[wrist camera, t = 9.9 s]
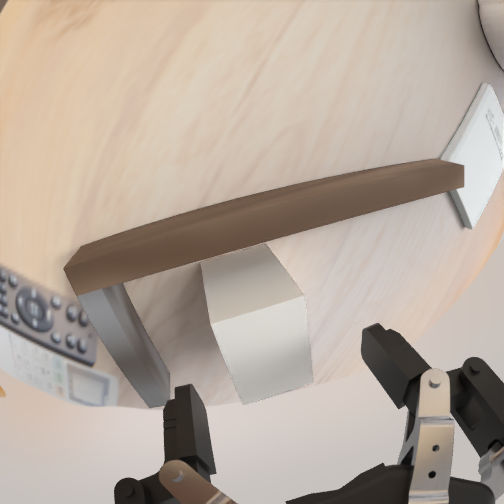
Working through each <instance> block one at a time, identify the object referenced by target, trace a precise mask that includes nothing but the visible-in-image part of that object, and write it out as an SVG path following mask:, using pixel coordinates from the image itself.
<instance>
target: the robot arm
mask: <svg viewBox="0 0 504 504" xmlns="http://www.w3.org/2000/svg"><path fill="white" fill-rule="evenodd" d="M478 3H479V7H480V8H479V14H480V20H481V24H482V27H483V30H484V33H485V36H486V39H487V41H488V44H489V46H490V48H491V50H492V52H493V54H494V56H495V58H496V60H497V62H498V63H499V65H500V66H501V68H502V69H503V70H504V0H478ZM361 354H362V358H363V360H364V362H365V363H366V365H367V366H368V367H369V369H370V370H371V371H372V373H373V374H374V376H375V377H376V378H377V380H378V381H379V383H380V384H381V385H382V387H383V388H384V390H385V391H386V392H387V394H388V395H389V397H390V398H391V399H392V400H393V402H394V404H395V405H396V406H397V408H398V409H400V408H402V407H403V406H405V405H406V406H407V408H408V413H407V421H406V428H405V435H404V441H403V446H402V449H401V452H400V455H399V458H398V463H397V465H389V466H385V465H384V463H382V464H380V465H378V466H376V467H374V468H372V469H370V470H367V471H365V472H363V473H361V474H360V475H358V476H357V477H356V478H354V479H353V480H352V481H350V482H349V483H347V484H346V485H345V486H343V487H342V488H340V489H338V490H333V491H327V492H320V493H313V494H308V495H305V496H302V497H299V498H296V499H292V500H289V501H286V504H495V500H496V499H497V498H499V497H500V496H501V495H502V494H503V493H504V383H503V382H502V381H501V380H500V378H499V377H498V376H497V375H496V374H495V373H494V372H493V370H492V369H491V368H490V367H489V366H488V365H487V364H486V363H485V361H483V360H482V359H480V358H478V357H471V358H468V359H467V360H466V361H465V362H464V364H463V366H462V367H461V368H458V369H455V370H451V371H447V372H444V371H443V370H440V369H432V368H431V367H430V366H429V365H428V364H427V363H426V362H425V360H424V359H423V358H422V357H421V356H420V355H419V354H418V353H417V352H416V351H415V349H414V348H413V347H411V345H410V344H409V343H408V342H406V340H405V339H404V338H403V337H402V336H401V334H400V333H398V332H396V331H394V330H392V329H389V330H387V331H386V330H385V329H384V328H383V327H382V326H381V325H380V324H379V323H376V324H374V325H371V326H369V327H367V328H364V329H363V331H362V344H361ZM450 413H451V414H452V416H453V417H454V418H455V420H456V421H457V423H458V424H459V426H460V427H461V428H462V430H463V431H464V433H465V434H466V436H467V438H468V439H469V441H470V442H471V444H472V445H473V447H474V448H475V450H476V451H477V453H478V455H479V456H480V458H481V459H480V462H479V470H478V472H479V474H480V475H481V482H475V481H470V480H465V479H460V478H455V477H451V476H450V474H451V466H452V456H453V444H454V420H453V419H451V418H450ZM163 418H164V419H163V420H164V424H163V425H164V452H165V461H164V464H163V466H162V467H161V468H160V470H159V471H158V472H157V473H156V474H154V475H152V476H149V477H147V478H144V479H141V480H139V481H138V480H136V479H133V478H124V479H121V480H120V481H119V482H118V483H117V484H116V486H115V489H114V498H115V504H237V503H236V502H235V501H233V500H232V499H230V498H229V497H228V496H226V495H225V494H224V493H222V492H221V491H219V490H218V489H217V488H216V487H214V486H213V485H212V484H211V480H210V475H212V474H216V468H215V463H214V458H213V452H212V446H211V440H210V433H209V427H208V420H207V413H206V409H205V406H204V404H203V402H202V400H201V398H200V397H199V395H198V393H197V392H196V390H195V388H194V386H193V385H192V384H188V385H183V386H178V387H175V399H172V400H167V403H166V405H165V407H164V410H163Z"/></svg>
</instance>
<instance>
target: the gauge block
mask: <svg viewBox="0 0 504 504" xmlns="http://www.w3.org/2000/svg"><path fill="white" fill-rule="evenodd" d="M200 263H201V270H202V277H203V283H204V289H205V295H206V302H207V307H208V313H209V319H210V324H211V327H212V330H213V332H214V335H215V338H216V340H217V343H218V345H219V348H220V351H221V353H222V356H223V358H224V361H225V363H226V366H227V368H228V371H229V373H230V376H231V378H232V380H233V383H234V385H235V388H236V390H237V392H238V395H239V397H240V399H241V402H242V404H243V405H245V404H249V403H253V402H256V401H259V400H263V399H266V398H269V397H272V396H276V395H279V394H282V393H285V392H288V391H291V390H293V389H296V388H299V387H302V386H305V385H307V384H310V383H313V371H312V359H311V348H310V337H309V327H308V318H307V309H306V300H305V295H304V293H303V292H302V291H301V289H300V288H299V287H298V285H297V284H296V283H295V281H294V280H293V279H292V277H291V276H290V275H289V273H288V272H287V271H286V269H285V268H284V267H283V265H282V264H281V263H280V261H279V260H278V259H277V257H276V256H275V255H274V253H273V252H272V251H271V250H270V248H269V247H268V246H267V244H263V245H260V246H256V247H253V248H249V249H246V250H242V251H238V252H235V253H231V254H228V255H224V256H221V257H217V258H214V259H210V260H207V261H203V262H200Z"/></svg>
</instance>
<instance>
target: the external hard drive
mask: <svg viewBox="0 0 504 504" xmlns="http://www.w3.org/2000/svg"><path fill="white" fill-rule="evenodd" d="M440 160H444V161H449V162H453V163H457V164H461V165H464V187H463V188H459V189H455V190H452V191H449V192H450V194H451V196H452V199H453V201H454V203H455V205H456V207H457V209H458V212H459V214H460V216H461V219H462V221H463V223H464V226H465V227H466V228H469V229H471V230H473V228H474V226H475V225H476V223H477V221H478V219H479V218H480V216H481V214H482V212H483V210H484V208H485V206H486V205H487V203H488V201H489V199H490V197H491V195H492V193H493V191H494V188H495V186H496V184H497V182H498V180H499V178H500V176H501V173H502V171H503V169H504V114H503V112H502V109H501V106H500V104H499V101H498V99H497V97H496V94H495V92H494V90H493V88H492V86H491V85H490V84H489V83H482V85H481V87H480V89H479V91H478V93H477V95H476V97H475V99H474V101H473V103H472V104H471V106H470V108H469V110H468V112H467V114H466V115H465V117H464V119H463V121H462V123H461V124H460V126H459V128H458V130H457V131H456V133H455V135H454V136H453V138H452V140H451V141H450V143H449V145H448V146H447V148H446V150H445V151H444V153H443V154H442V156H441V157H440Z"/></svg>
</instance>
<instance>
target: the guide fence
mask: <svg viewBox="0 0 504 504" xmlns="http://www.w3.org/2000/svg"><path fill="white" fill-rule="evenodd" d="M463 187H464V165H461V164H457V163H453V162H449V161H444V160H440V159H429V160H422V161H416V162H409V163H403V164H397V165H391V166H385V167H379V168H374V169H368V170H363V171H358V172H352V173H347V174H342V175H337V176H332V177H328V178H323V179H318V180H313V181H309V182H304V183H300V184H295V185H291V186H287V187H282V188H278V189H274V190H270V191H266V192H262V193H257V194H253V195H249V196H246V197H242V198H238V199H234V200H230V201H226V202H223V203H219V204H215V205H211V206H208V207H204V208H201V209H197V210H194V211H190V212H187V213H183V214H180V215H176V216H173V217H170V218H166V219H163V220H160V221H156V222H153V223H150V224H147V225H143V226H140V227H137V228H134V229H131V230H128V231H125V232H122V233H119V234H116V235H113V236H110V237H107V238H104V239H101V240H98V241H95V242H92V243H89V244H86V245H84V246H81V247H80V249H79V250H78V251H77V252H76V253H75V255H74V256H73V257H72V258H71V260H70V261H69V262H68V263H67V265H66V266H65V267H64V268H63V269H64V271H65V273H66V276H67V278H68V280H69V282H70V284H71V286H72V288H73V290H74V292H75V294H76V296H77V298H78V300H79V302H80V303H81V305H82V307H83V309H84V311H85V313H86V315H87V316H88V318H89V320H90V322H91V323H92V325H93V327H94V328H95V330H96V332H97V334H98V335H99V337H100V338H101V340H102V342H103V343H104V345H105V346H106V348H107V350H108V351H109V353H110V354H111V356H112V357H113V359H114V360H115V362H116V363H117V365H118V366H119V368H120V369H121V371H122V372H123V373H124V375H125V376H126V378H127V379H128V380H129V382H130V383H131V385H132V386H133V387H134V389H135V390H136V391H137V393H138V394H139V395H140V396H141V398H142V399H143V400H144V402H145V403H146V404H147V405H148V407H149V408H153V407H159V406H165V405H166V403H167V400H171V399H170V373H169V372H168V370H167V368H166V366H165V365H164V363H163V361H162V360H161V358H160V356H159V354H158V353H157V351H156V349H155V347H154V345H153V344H152V342H151V340H150V338H149V336H148V334H147V332H146V330H145V329H144V327H143V325H142V323H141V321H140V319H139V317H138V315H137V313H136V311H135V309H134V307H133V305H132V303H131V300H130V298H129V296H128V294H127V292H126V290H125V287H124V285H123V282H127V281H130V280H134V279H137V278H140V277H144V276H147V275H151V274H154V273H158V272H161V271H165V270H168V269H172V268H175V267H179V266H182V265H185V264H189V263H192V262H196V261H199V260H203V259H206V258H210V257H213V256H217V255H220V254H224V253H228V252H231V251H235V250H238V249H242V248H245V247H249V246H252V245H256V244H259V243H263V242H266V241H270V240H274V239H277V238H281V237H284V236H288V235H291V234H295V233H298V232H302V231H306V230H309V229H313V228H316V227H320V226H324V225H327V224H331V223H334V222H338V221H342V220H345V219H349V218H353V217H356V216H360V215H363V214H367V213H371V212H374V211H378V210H382V209H385V208H389V207H393V206H396V205H400V204H404V203H407V202H411V201H415V200H418V199H422V198H426V197H429V196H433V195H437V194H441V193H444V192H448V191H452V190H455V189H459V188H463Z"/></svg>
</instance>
